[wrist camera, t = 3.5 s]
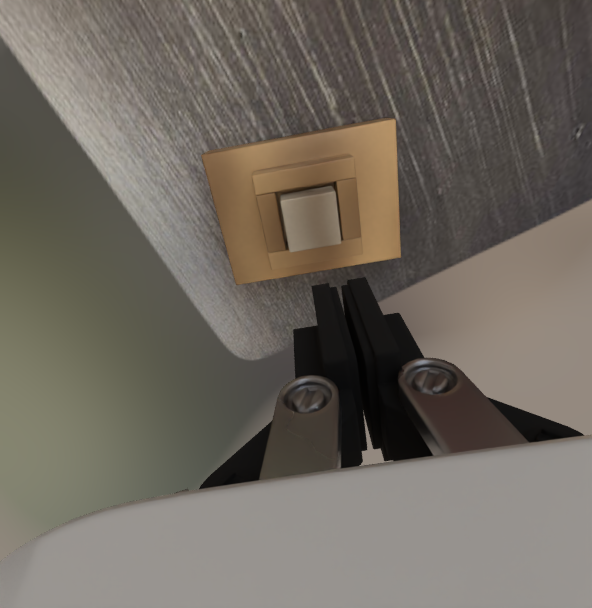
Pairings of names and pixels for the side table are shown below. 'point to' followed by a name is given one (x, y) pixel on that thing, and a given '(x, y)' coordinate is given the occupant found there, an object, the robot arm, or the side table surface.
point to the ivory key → (311, 218)
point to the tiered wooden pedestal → (303, 176)
